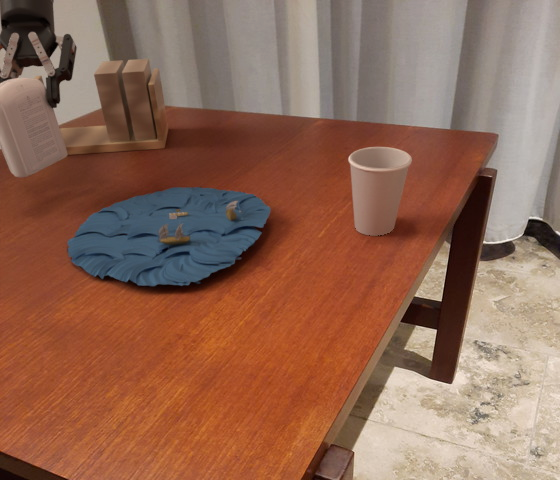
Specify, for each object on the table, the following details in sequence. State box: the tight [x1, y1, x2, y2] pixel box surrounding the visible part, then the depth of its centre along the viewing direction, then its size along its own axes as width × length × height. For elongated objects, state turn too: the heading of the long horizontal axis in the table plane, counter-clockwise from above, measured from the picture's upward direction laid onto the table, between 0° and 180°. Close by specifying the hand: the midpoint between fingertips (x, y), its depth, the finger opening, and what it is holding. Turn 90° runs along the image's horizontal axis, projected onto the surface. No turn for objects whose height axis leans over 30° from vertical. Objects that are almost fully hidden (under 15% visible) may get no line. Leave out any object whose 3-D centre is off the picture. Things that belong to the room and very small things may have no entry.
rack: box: [34, 58, 169, 156], centre depth 108 cm, size 24×12×14 cm, turn 95°
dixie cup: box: [348, 146, 413, 237], centre depth 77 cm, size 8×8×10 cm
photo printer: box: [0, 77, 68, 178], centre depth 83 cm, size 10×4×12 cm, turn 158°
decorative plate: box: [67, 186, 272, 287], centre depth 78 cm, size 30×30×5 cm
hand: (32, 105), depth 83 cm, fingers closed on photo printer, 5 cm apart
